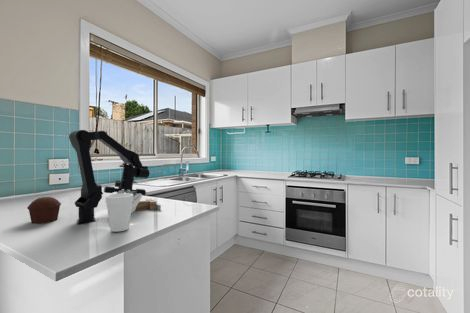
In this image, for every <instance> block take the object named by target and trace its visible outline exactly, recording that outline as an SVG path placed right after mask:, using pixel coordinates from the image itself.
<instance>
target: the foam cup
mask: <svg viewBox="0 0 470 313" xmlns="http://www.w3.org/2000/svg"><path fill="white" fill-rule="evenodd" d="M132 202H133V194H129V193H123V194H117V193H111V194H107V195H105V203H106V210H107V216H108V223H109V228H110V232H116V233H117V232H124V231H126V230H128V229H129V227H130V222H131V215H132V213H131V209H132Z"/></svg>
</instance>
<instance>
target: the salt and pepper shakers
mask: <svg viewBox="0 0 470 313" xmlns="http://www.w3.org/2000/svg"><path fill="white" fill-rule="evenodd" d="M142 198H143V195H142V194H141V193H139V194H138V193H133V202H132V209H131V214H134V212H135V211H136V209H135V208H136V206H137V205H138V203H139V201H141V200H142Z"/></svg>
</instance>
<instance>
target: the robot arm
mask: <svg viewBox="0 0 470 313" xmlns="http://www.w3.org/2000/svg"><path fill="white" fill-rule="evenodd" d="M68 138H69V141H70V143H71V146H72V147H73V149H74V151H75V152H76V157H77V162H78V167H79V171H80V177H81V181H82V182H81V183H82V185H81V189H80V196H79V198H78V199H77V200H75V201H74V205H75V207H76V208H78V219H77V222H76V224H77V225H80V224H88V223H93V222H94V223H95V222H96V217H95V208H98V205H99V202H100V201H101V200H102V199H103V195H104V193H105V194H114V193H116V194H123V193H129V194H133V193H138V194H139V193H141V194H142V196H146V193H147V191H146V190H145V189H143V188H135V189H133V185H134V182H135V178H136V179H148V178H149V177H150V169H149V167H148V166H146V165H143V164H142V161H141V160H140V156H139V154H138V153H137V152H135V151H133V150H131V149H129V148H126V147H124V146H123V145H122V144H121V143H119V142H118V141H117V140H116V139H114V138H113V137H112V136H111V135H109V134H108V133H107V132H106V131H104V130H97V131H88V130H85V129H78V130H73V131H71V132H70V133H69V135H68ZM97 140H98V141H99V142H100V143H102V144H103V145H105V146H106V147H107V148H109V149H110V150H111V151H112V152H113V153H115V154H117V155H118V156H119V158H120V160H121V161H122V162H123V163H122V164H120V165H119V168H122V174H121V179H120V180H118V179H117V180H115V183H114V185H113V186H109V185H106V186H104V187H103V186H102V185H100V184H97V182H96V180H95V175H94V174H95V173H94V169H93V162H92V158H91V152H90V150H91V146H92V141H97ZM102 188H103V189H102Z"/></svg>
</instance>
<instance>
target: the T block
mask: <svg viewBox="0 0 470 313" xmlns="http://www.w3.org/2000/svg"><path fill="white" fill-rule="evenodd" d="M156 203H157V201H156V200H154V199H152V198H147V199H145V200H140V201H139V203H138V205H137V206H136V208H135V211H136V212H137V211H143V210H150V211H153V210H157V209H156Z"/></svg>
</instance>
